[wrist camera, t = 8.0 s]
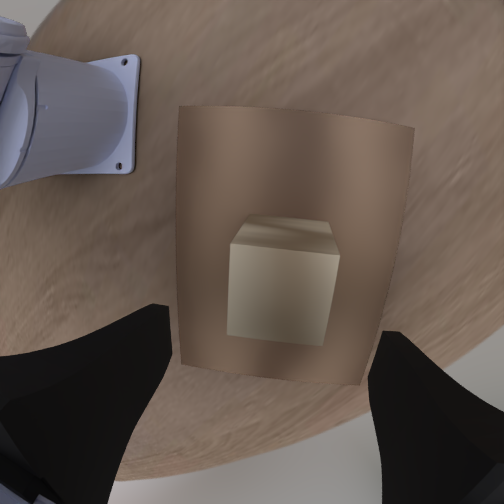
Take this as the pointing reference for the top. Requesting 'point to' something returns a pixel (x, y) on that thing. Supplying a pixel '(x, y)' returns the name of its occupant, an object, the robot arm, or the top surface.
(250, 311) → the birch block
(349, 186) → the walnut plinth
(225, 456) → the top surface
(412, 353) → the robot arm
